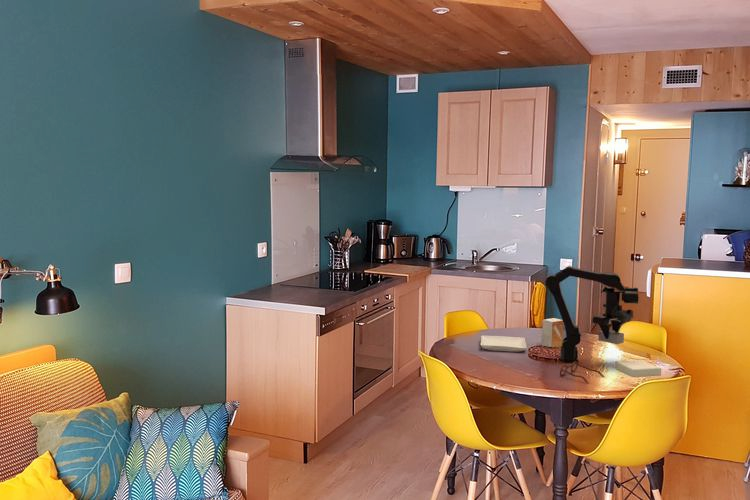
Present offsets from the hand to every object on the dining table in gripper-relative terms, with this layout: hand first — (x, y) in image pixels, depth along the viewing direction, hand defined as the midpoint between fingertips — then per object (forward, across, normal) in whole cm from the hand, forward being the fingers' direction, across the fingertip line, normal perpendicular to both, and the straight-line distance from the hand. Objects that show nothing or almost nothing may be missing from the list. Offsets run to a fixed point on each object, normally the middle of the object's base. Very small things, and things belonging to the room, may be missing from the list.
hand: (611, 338), depth 282 cm
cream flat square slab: (+12, -20, +46) cm, 51 cm away
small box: (+12, +2, +35) cm, 37 cm away
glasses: (+12, -26, -7) cm, 29 cm away
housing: (+2, 0, 0) cm, 2 cm away
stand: (+12, +1, -13) cm, 18 cm away
